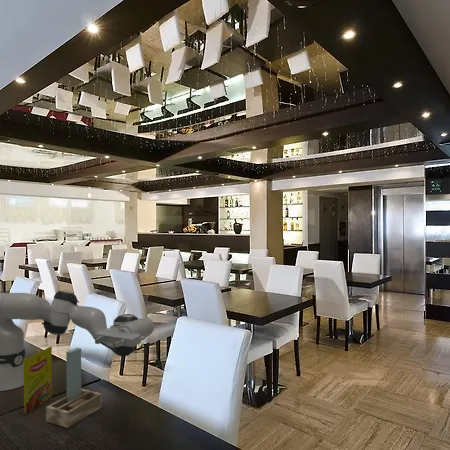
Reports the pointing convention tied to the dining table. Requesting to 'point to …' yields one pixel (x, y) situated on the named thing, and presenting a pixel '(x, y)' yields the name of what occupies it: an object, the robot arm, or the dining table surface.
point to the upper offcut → (76, 404)
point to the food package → (37, 379)
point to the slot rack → (65, 418)
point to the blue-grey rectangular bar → (73, 373)
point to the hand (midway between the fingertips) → (105, 343)
